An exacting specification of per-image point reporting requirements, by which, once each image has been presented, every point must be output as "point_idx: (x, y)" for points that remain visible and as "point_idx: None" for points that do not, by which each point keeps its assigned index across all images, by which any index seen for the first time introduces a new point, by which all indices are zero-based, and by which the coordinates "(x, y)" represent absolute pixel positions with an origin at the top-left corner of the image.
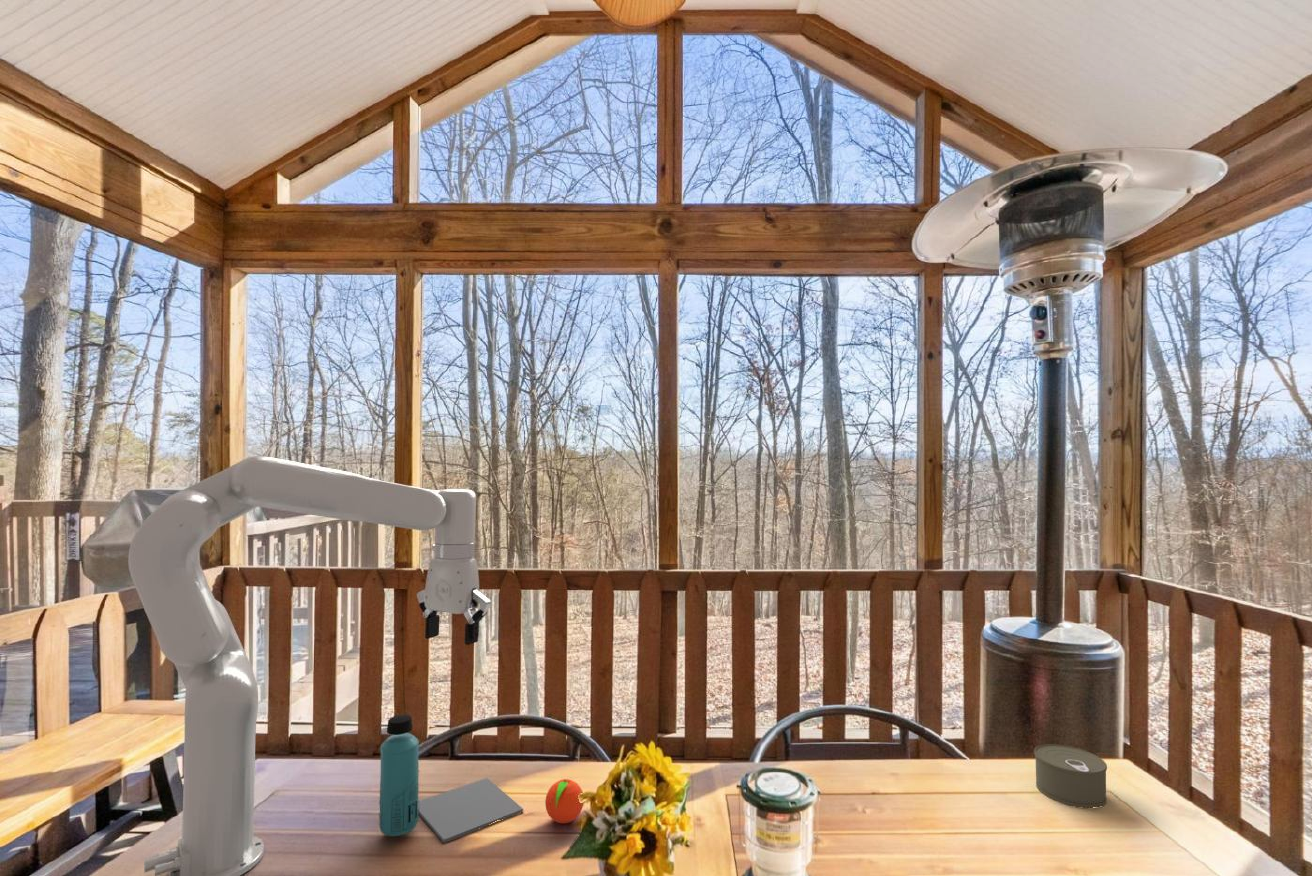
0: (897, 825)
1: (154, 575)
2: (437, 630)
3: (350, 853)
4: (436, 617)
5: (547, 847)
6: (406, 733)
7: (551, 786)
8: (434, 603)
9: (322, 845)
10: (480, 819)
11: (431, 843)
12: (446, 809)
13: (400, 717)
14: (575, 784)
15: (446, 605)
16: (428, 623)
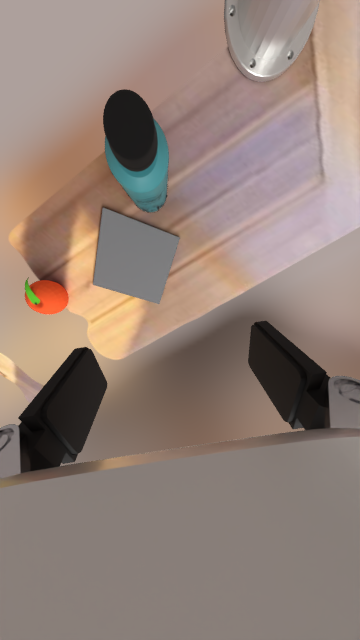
0: None
1: None
2: (256, 369)
3: None
4: (288, 409)
5: (31, 255)
6: (143, 174)
7: (51, 296)
8: (348, 560)
9: (197, 130)
10: (106, 251)
11: (112, 201)
12: (145, 247)
13: (129, 127)
14: (31, 307)
15: (85, 588)
16: (288, 357)
